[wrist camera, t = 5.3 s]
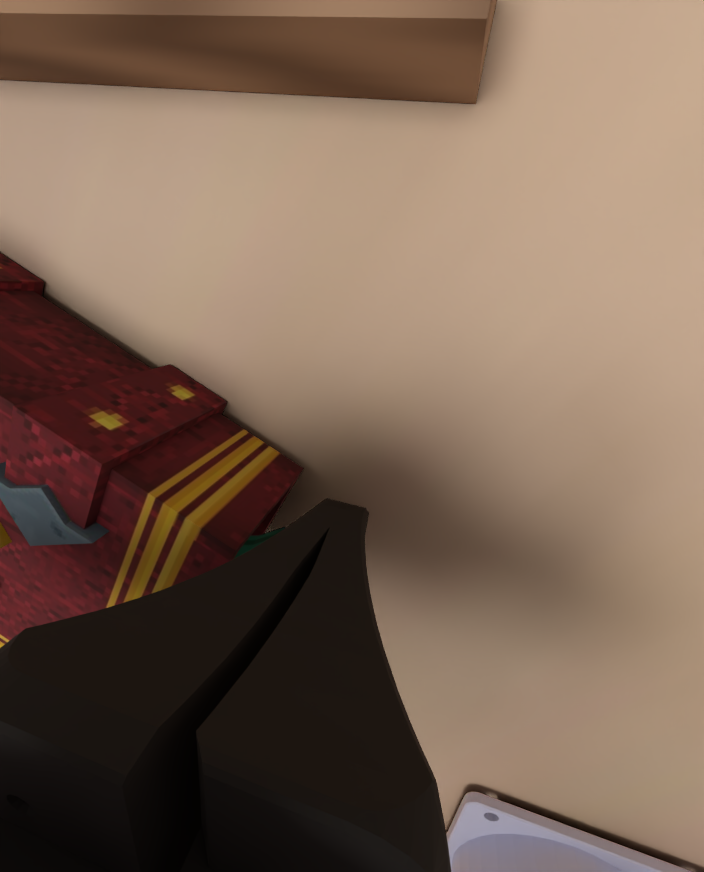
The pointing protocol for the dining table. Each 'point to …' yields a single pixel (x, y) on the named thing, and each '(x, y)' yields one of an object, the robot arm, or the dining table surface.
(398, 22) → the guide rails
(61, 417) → the decorative book
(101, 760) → the robot arm
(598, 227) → the dining table surface
